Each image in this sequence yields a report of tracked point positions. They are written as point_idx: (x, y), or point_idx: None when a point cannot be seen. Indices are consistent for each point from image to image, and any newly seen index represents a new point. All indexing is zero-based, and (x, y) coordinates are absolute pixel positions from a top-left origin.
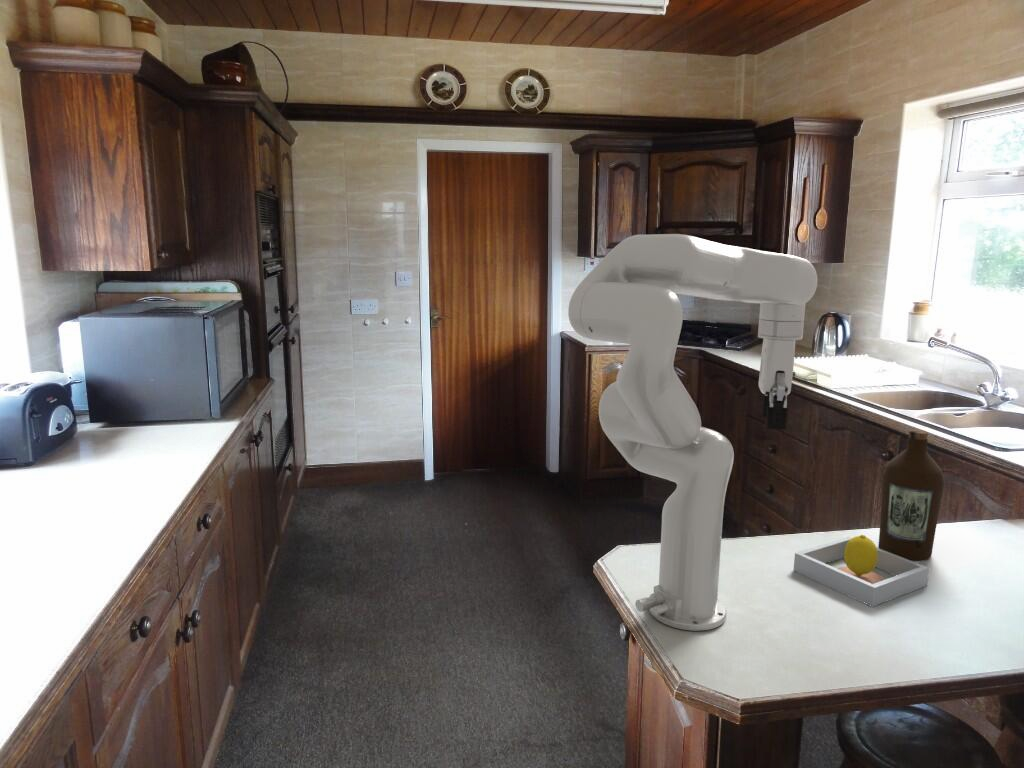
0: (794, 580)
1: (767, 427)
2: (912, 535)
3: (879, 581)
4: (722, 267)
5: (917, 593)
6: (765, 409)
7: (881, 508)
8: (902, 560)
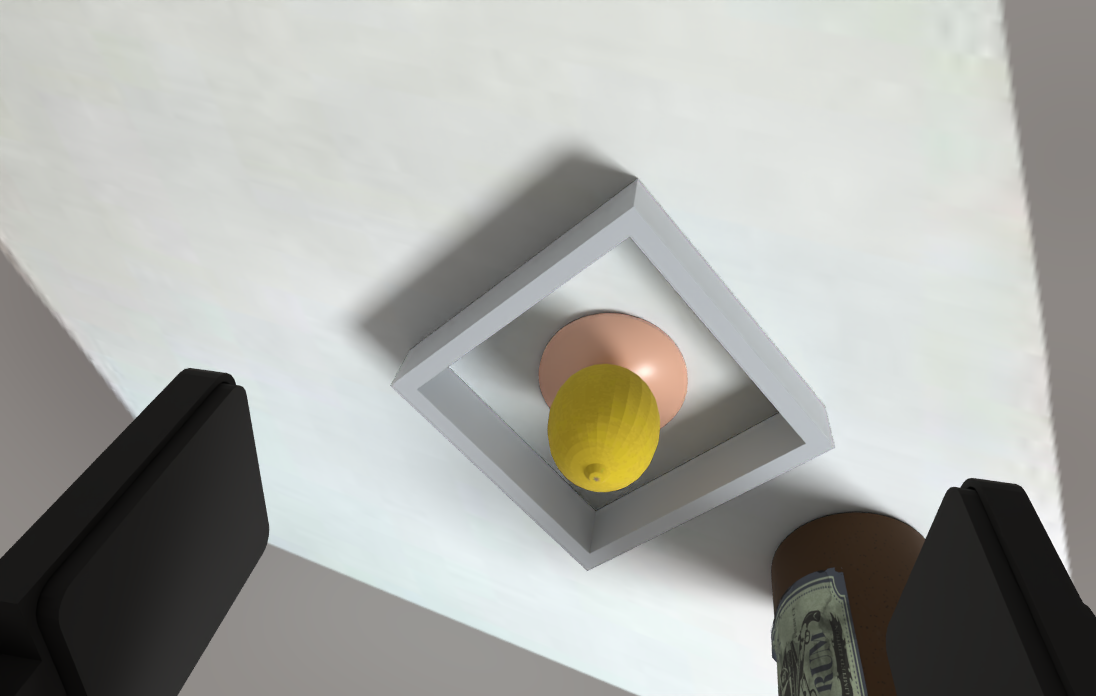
0: (546, 161)
1: (186, 377)
2: (778, 624)
3: None
4: None
5: None
6: (974, 583)
7: None
8: (635, 528)
